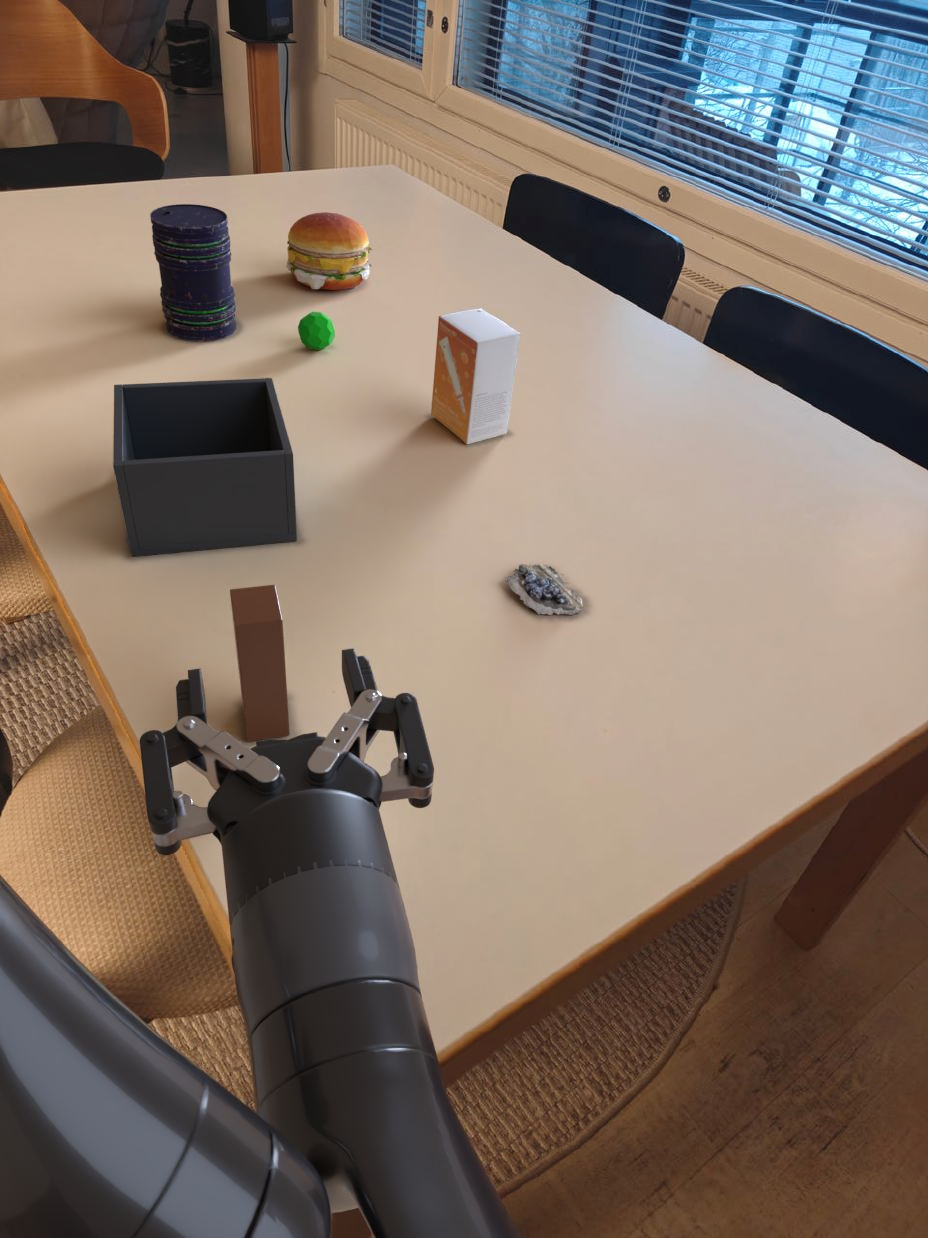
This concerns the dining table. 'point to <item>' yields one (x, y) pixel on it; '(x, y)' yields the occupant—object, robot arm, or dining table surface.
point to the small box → (474, 374)
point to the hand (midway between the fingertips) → (273, 669)
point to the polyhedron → (316, 331)
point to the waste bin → (203, 465)
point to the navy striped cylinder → (194, 271)
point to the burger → (328, 251)
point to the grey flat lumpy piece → (544, 590)
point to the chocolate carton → (261, 661)
